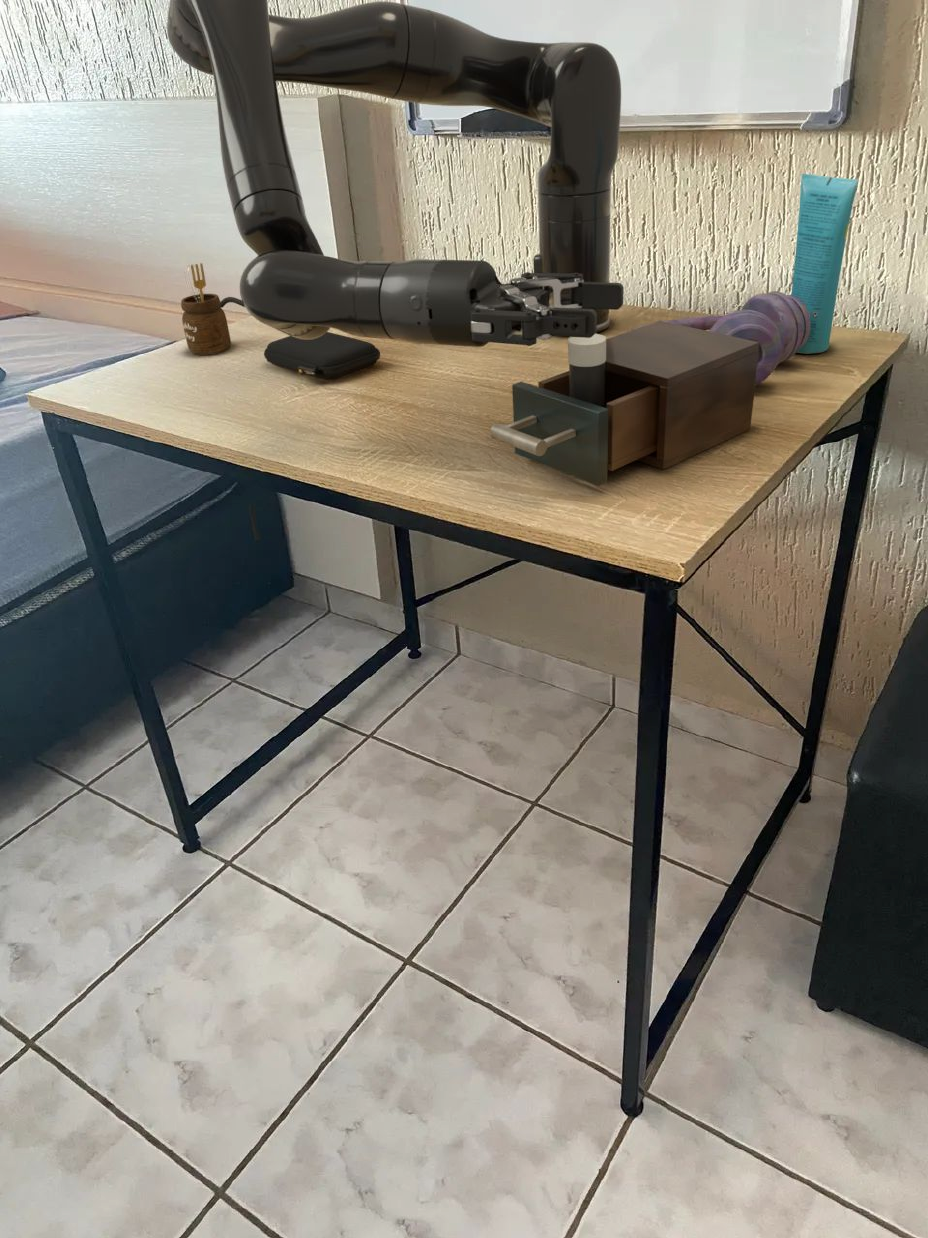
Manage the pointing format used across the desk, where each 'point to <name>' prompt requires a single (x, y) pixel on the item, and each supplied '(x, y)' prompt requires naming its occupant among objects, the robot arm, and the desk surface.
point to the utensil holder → (204, 320)
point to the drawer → (583, 426)
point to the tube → (821, 251)
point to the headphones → (762, 327)
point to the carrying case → (323, 355)
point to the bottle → (587, 368)
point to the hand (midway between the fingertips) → (609, 309)
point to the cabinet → (689, 384)
